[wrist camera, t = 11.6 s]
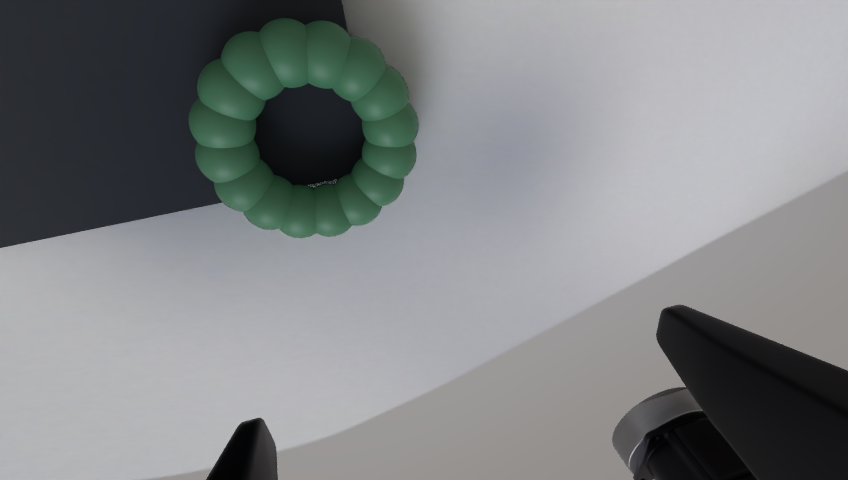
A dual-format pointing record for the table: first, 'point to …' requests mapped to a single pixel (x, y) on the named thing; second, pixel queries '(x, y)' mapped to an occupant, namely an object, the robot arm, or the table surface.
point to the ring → (294, 67)
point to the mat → (140, 110)
